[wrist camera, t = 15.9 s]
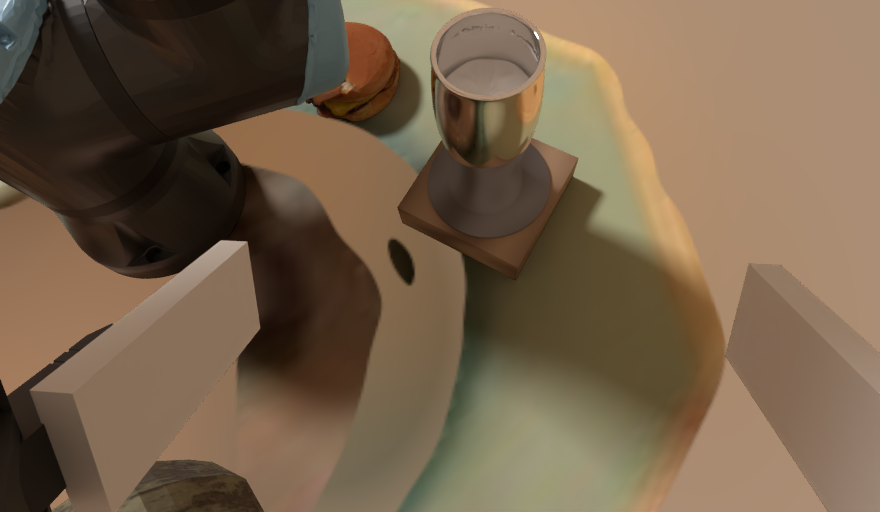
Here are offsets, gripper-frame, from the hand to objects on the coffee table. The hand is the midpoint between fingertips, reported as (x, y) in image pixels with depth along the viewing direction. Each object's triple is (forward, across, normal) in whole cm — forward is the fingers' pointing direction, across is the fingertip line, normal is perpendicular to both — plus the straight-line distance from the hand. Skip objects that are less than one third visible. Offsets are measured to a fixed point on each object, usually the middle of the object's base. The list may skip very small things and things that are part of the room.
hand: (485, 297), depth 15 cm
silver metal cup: (+31, -1, -6) cm, 31 cm away
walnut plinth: (+33, 0, -8) cm, 34 cm away
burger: (+42, -14, +1) cm, 44 cm away
